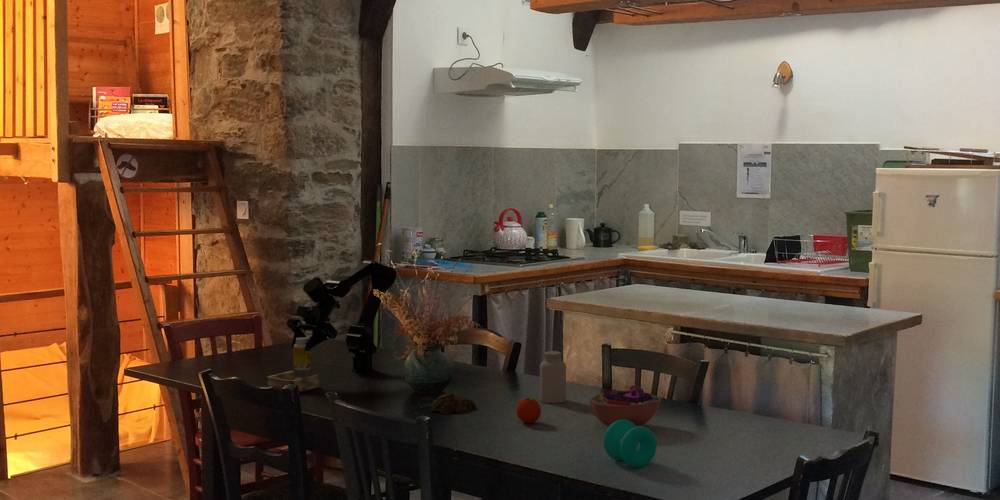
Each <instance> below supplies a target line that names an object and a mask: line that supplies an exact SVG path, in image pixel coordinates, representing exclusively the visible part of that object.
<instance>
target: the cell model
mask: <svg viewBox="0 0 1000 500" xmlns="http://www.w3.org/2000/svg"><path fill="white" fill-rule="evenodd" d="M603 391H604V392H601V393H599V394H596V395H595V396H592V397H590V398H589V400H590V401H589V403H590V404H589V405H590V410H591V412H592V414H593V415H594V416H595V418H597V420H599V422H600V423H601V424H603V425H605V426H606V427H609V426H610V425H611V424H612V423H614V422H615V421H618V420H628V421H630V422H632V423H633V424H634V425H635V426H644V425H646V424H647V423H649V422H650V420H652V419H653V417H654V416H655V415H656V413H657V411H658V409H659V407H660V404H661V401H662V397H660V396H658V395H654V394H651V393H649V392H645V391H644V389H643V388H641V387H640V386H638V385H631V386H630V388H629V390H613V391H612V390H611V391H609V390H607V391H606V390H603Z"/></svg>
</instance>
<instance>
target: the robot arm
mask: <svg viewBox="0 0 1000 500" xmlns="http://www.w3.org/2000/svg"><path fill="white" fill-rule="evenodd" d="M368 276H370V283H371V284H370V285H371V288H370V291H369V293H368V296H367V299H366V301H365V304H364V307H363V309H362V310H361V314H360V315H359V316H360V317H359V319H358V322H357V323H356V324H355V325H351V324H350V326H349V328H348V331H347V333H346V335H345V344H346V347H347V350H348V353H351V354H352V356H351V357H350V370H352V371H353V372H355V373H362V372H363V373H364V372H374V371H375V368H373V355H374V354H376V353H377V345H375V343H374V342H373V341H372V340H373V339H372V338H373V332H372V328H373V324H374V322H375V320H376V319H375V318H376V316H377V313H378V311H379V309H380V306H381V303H382V301H381V300H380V299H379V298H378V297H376V296H374V294H373V289H378V290H379V291H381V292H384V291H386V292H387V291H388V290H390V288H391V287H393V285H394V283H395V281H396V279H397V271H396V269H395V268H394V267H393V266H387V265H385V264H383V263H382V264H381V263H380V262H378V261H376V260H373V259H372V260H370V259H365V260H363V261H362V263H360V264H359V265H357V266H356V267H354V268H353V269H351V270H350V271H348V272H347V273H345V274H344V275H341V276H338V277H337V276H336V277H332V278H331V279H328V280H327V281H325V283H323V281H322V279H321V278H320V277H318V276H314V277H313V279H310V280H308V281H307V282H306V283H305V284H304V285H303V287H302V290H303V292H304V293H305V294H306V295H307V297H308V298H309V300H311V302H312V303H315V304H316V305H311V306H310V307H309V306H304V305H298V306H297V309H296V312H295V316H297V317H298V316H299V317H300V318H302V319H301V320H302V321H303V322H304V323H303V322H302V321H301V320H300V319H299V318H293V317H292V318H288V320H287V321H286V323H285V325H286V326H287V327H288V329H290V330H291V332H292V333H293V338H292V343H291V349H292V350H294V348H293V346H294V344H296V338H299V337H307V335H306V334H305V333H306V332H308V331H309V332H312V333H311V336H310V338H308V337H307V338H308V343H307V345H306V347H305V350H306V351H308V350H310V349H313V348H314V347H316V346H317V345H319V344H321V343H323V342H325V341H327V340H335V339H336V338H337V336H338V330H337V329H336V327H334V325H333V324H332V322H330V321H331V317H330V316H331V314H332V313H333V311H334V309H338V310H340V309H341V304H340V301H339V300H337V299H336V298H339V299H340V298H341V299H343V298H345V297H346V296H348V294H349V293H350V292H351V291H352V287H353V286H355V285H356V284H357V283H359V282H360V281H363V280H364V279H365V278H367V277H368Z"/></svg>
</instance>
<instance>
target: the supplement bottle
mask: <svg viewBox="0 0 1000 500" xmlns="http://www.w3.org/2000/svg"><path fill="white" fill-rule="evenodd" d="M308 341H309V338H308V337H299V338H296V344H294V346H293V348H294V349H293V368H294V371H308V370H310V369H311V368H312V350H311V349H312V348H311V349H310V350H308V351H306V350H305V347H306V345H307V343H308Z"/></svg>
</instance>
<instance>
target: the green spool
mask: <svg viewBox="0 0 1000 500" xmlns="http://www.w3.org/2000/svg"><path fill="white" fill-rule="evenodd" d="M657 446H658V442H657V438H656V435H655V434H654V432H653V431H652V430H651V429H650V428H648V427H646V426H644V425H643V426H635V425H634V424H633V423H632V422H630V421H628V420H618V421H615V422H614V423H612V424H611V425H610V426H607V429H606V430H605V432H604V436H603V447H604V451H605V453H606V454H607V455H608V456H609V457H610V458H611V459H613V460H615V461H623V462H624V463H625V464H626V465H628V466H629V467H631V468H634V469H635V468H636V469H638V468H643V467H645V466H647V465H648V464H649V463H651V461H652V460H653V458H654V457H655V455H656V452H657V448H658V447H657Z"/></svg>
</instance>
